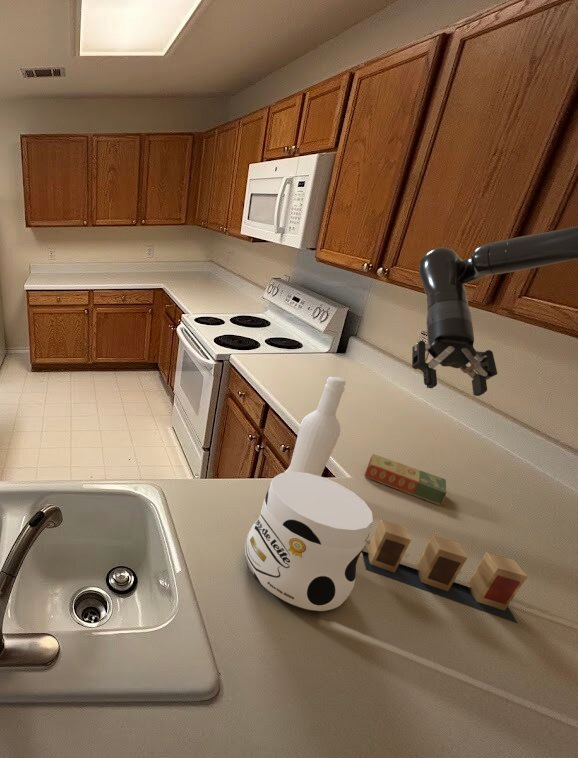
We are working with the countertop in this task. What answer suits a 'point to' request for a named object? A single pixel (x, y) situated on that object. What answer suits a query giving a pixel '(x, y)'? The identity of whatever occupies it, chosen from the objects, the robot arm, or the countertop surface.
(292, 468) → the bottle
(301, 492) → the milk container
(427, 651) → the countertop surface
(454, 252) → the robot arm
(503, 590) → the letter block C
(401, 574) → the word mat
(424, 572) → the brown panel wooden block
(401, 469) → the carton
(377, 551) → the tan wooden block
